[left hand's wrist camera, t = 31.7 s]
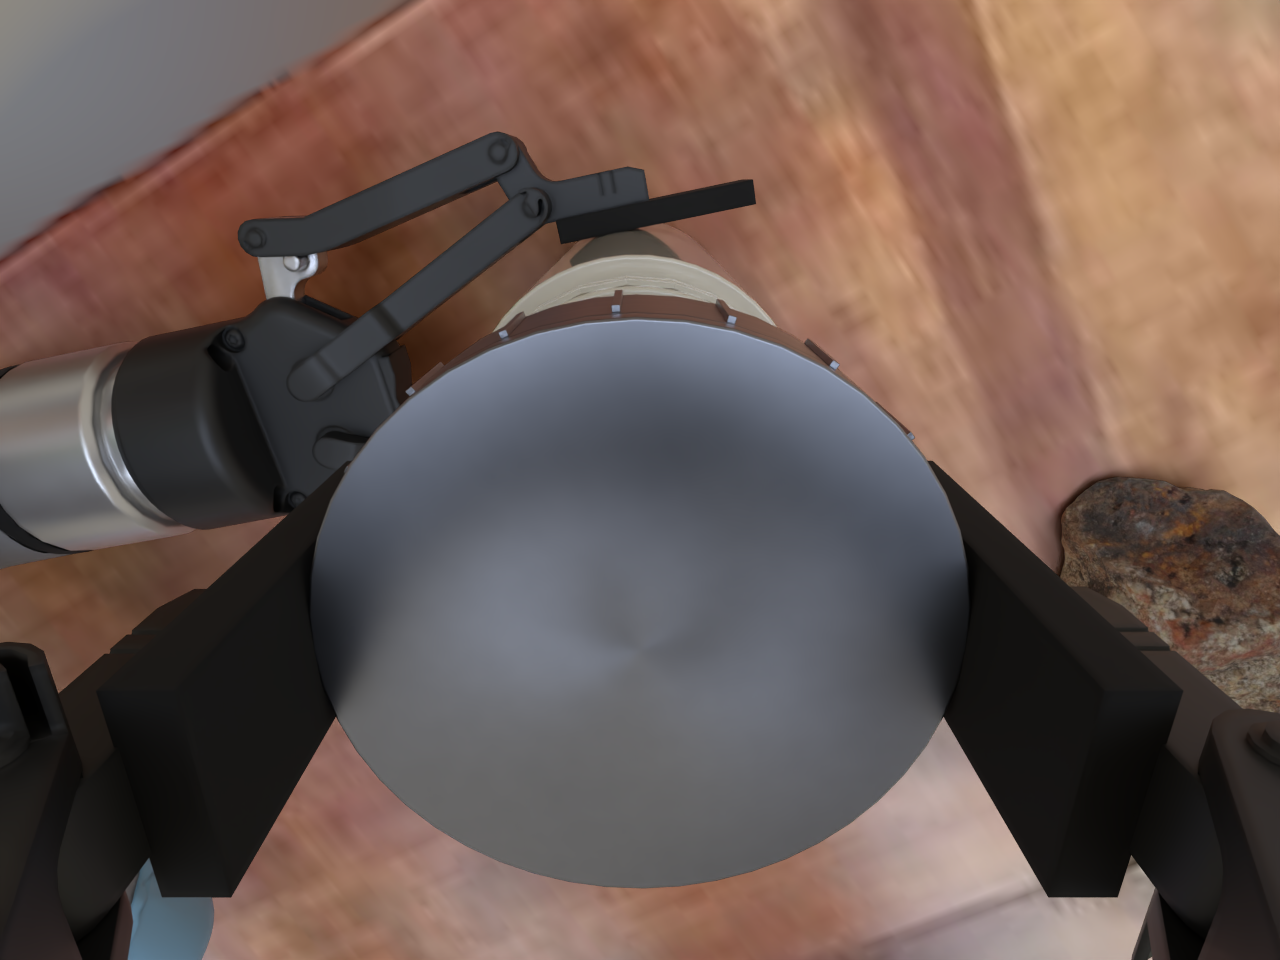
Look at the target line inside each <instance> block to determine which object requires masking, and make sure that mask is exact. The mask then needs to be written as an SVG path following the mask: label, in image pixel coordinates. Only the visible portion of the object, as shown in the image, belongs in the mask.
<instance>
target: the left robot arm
mask: <svg viewBox="0 0 1280 960" xmlns="http://www.w3.org/2000/svg"><path fill="white" fill-rule="evenodd" d="M351 462H352V461H346V462H345V463H344V464H343V465H342V466H341V467H340V468H339V469H338V470H336V471H335V472H334V473H333V474H332V475H331V476H330V477H329V478H328V479H327V480H326V481H324V482H323V483H322V484H321V485H320V486H319V487H318V488H317V489H316V490H315V491H314V492H312V493H311V494H310V495H309V496H308V497H307V498H306V499H305V500H304V501H303V502H301V503H300V504H299V505H298V506H297V507H296V508H295V509H294V510H293V511H292V512H291V513H289V514H288V515H287V516H286V517H285V518H284V519H283V520H282V521H281V522H280V523H279V524H277V525H276V526H275V527H274V528H273V529H272V530H271V531H270V532H269V533H268V534H267V535H265V536H264V537H263V538H262V539H261V540H260V541H259V542H258V543H257V544H256V545H255V546H253V547H252V548H251V549H250V550H249V551H248V552H247V553H246V554H245V555H244V556H242V557H241V558H240V559H239V560H238V561H237V562H236V563H235V564H234V565H233V566H232V567H230V568H229V569H228V570H227V571H226V572H225V573H224V574H223V575H222V576H221V577H220V578H218V579H217V580H216V581H215V582H214V583H213V584H212V585H211V586H210V587H209V588H208V589H194V590H192V591H190V592H188V593H186V594H184V595H182V596H180V597H178V598H176V599H174V600H172V601H171V602H169V603H167V604H165V605H163V606H161V607H159V608H157V609H156V610H155V611H154V612H153V613H152V614H150V615H149V616H148V617H147V618H146V619H145V620H143V621H142V622H141V623H140V624H139V625H138V626H137V627H135V628H134V629H133V630H132V635H126V636H125V637H124V638H123V639H121V640H120V641H119V642H118V643H117V644H116V645H114V646H113V647H112V648H111V649H110V650H111V651H110V654H104V655H103V656H102V657H101V658H99V659H98V660H97V661H96V662H95V663H94V664H92V665H91V666H90V667H89V668H88V669H87V670H85V671H84V672H83V673H82V674H81V675H80V676H78V677H77V678H76V679H75V680H74V681H73V682H72V683H70V684H69V685H68V686H67V687H66V688H65V689H63V690H62V691H61V692H60V693H59V694H58V692H57V689H56V686H55V683H54V680H53V677H52V674H51V671H50V668H49V665H48V662H47V659H46V657H45V654H44V651H43V650H41V649H39V648H37V647H36V646H34V645H32V644H28V643H15V642H4V643H0V960H128V954H129V948H130V941H131V934H132V928H133V916H132V910H131V905H130V902H129V899H128V896H127V893H126V888H127V887H128V886H129V884H130V883H131V882H132V880H133V879H134V878H135V876H136V875H137V873H138V872H139V871H140V869H141V868H142V867H143V865H144V864H145V863H146V861H147V860H148V859H150V862H151V865H152V868H153V871H154V874H155V878H156V881H157V884H158V887H159V890H160V893H161V896H162V897H232V895H233V893H234V891H235V890H236V888H237V886H238V885H239V883H240V881H241V879H242V878H243V876H244V874H245V872H246V871H247V869H248V867H249V866H250V864H251V862H252V860H253V859H254V857H255V855H256V853H257V852H258V850H259V848H260V847H261V845H262V843H263V841H264V840H265V838H266V836H267V835H268V833H269V831H270V829H271V828H272V826H273V824H274V822H275V821H276V819H277V817H278V816H279V814H280V812H281V810H282V809H283V807H284V805H285V803H286V802H287V800H288V798H289V797H290V795H291V793H292V791H293V790H294V788H295V786H296V785H297V783H298V781H299V779H300V778H301V776H302V774H303V772H304V771H305V769H306V767H307V766H308V764H309V762H310V760H311V759H312V757H313V755H314V753H315V752H316V750H317V748H318V747H319V745H320V743H321V741H322V740H323V738H324V736H325V735H326V733H327V731H328V729H329V728H330V726H331V724H332V722H333V721H334V719H335V717H336V715H335V713H334V710H333V708H332V706H331V703H330V701H329V699H328V697H327V694H326V692H325V690H324V688H323V684H322V681H321V677H320V673H319V670H318V665H317V660H316V655H315V650H314V645H313V639H312V633H311V627H310V620H309V594H310V573H311V568H312V562H313V557H314V552H315V546H316V541H317V536H318V534H319V531H320V528H321V525H322V522H323V520H324V517H325V514H326V511H327V508H328V506H329V503H330V500H331V498H332V496H333V494H334V492H335V491H336V489H337V487H338V485H339V483H340V481H341V479H342V478H343V476H344V474H345V473H344V470H345V469H346V467H347V466H348V465H349V464H350V463H351ZM928 463H929V465H930V467H931V468H932V470H933V472H934V473H935V475H936V477H937V479H938V480H939V482H940V484H941V486H942V487H943V489H944V491H945V492H946V495H947V497H948V500H949V503H950V505H951V508H952V510H953V513H954V516H955V518H956V521H957V523H958V526H959V528H960V531H961V536H962V541H963V545H964V550H965V555H966V559H967V564H968V568H969V585H970V602H971V611H970V621H969V630H968V636H967V642H966V647H965V652H964V657H963V662H962V667H961V672H960V676H959V680H958V683H957V685H956V688H955V690H954V693H953V695H952V697H951V700H950V702H949V705H948V707H947V710H946V712H945V715H944V718H945V720H946V722H947V723H948V725H949V727H950V728H951V730H952V732H953V734H954V735H955V737H956V739H957V741H958V742H959V744H960V746H961V747H962V749H963V751H964V753H965V754H966V756H967V758H968V759H969V761H970V763H971V765H972V766H973V768H974V770H975V772H976V773H977V775H978V777H979V778H980V780H981V782H982V784H983V785H984V787H985V789H986V791H987V792H988V794H989V796H990V797H991V799H992V801H993V803H994V804H995V806H996V808H997V809H998V811H999V813H1000V815H1001V816H1002V818H1003V820H1004V822H1005V823H1006V825H1007V827H1008V828H1009V830H1010V832H1011V834H1012V835H1013V837H1014V839H1015V841H1016V842H1017V844H1018V846H1019V847H1020V849H1021V851H1022V853H1023V854H1024V856H1025V858H1026V860H1027V861H1028V863H1029V865H1030V866H1031V868H1032V870H1033V872H1034V873H1035V875H1036V877H1037V878H1038V880H1039V882H1040V884H1041V885H1042V887H1043V889H1044V891H1045V892H1046V894H1047V896H1048V897H1118V894H1119V891H1120V888H1121V885H1122V882H1123V879H1124V876H1125V873H1126V869H1127V866H1128V863H1129V860H1130V857H1131V855H1132V857H1133V858H1134V859H1135V861H1136V862H1137V863H1138V865H1139V866H1140V867H1141V869H1142V870H1143V871H1144V873H1145V874H1146V875H1147V877H1148V878H1149V879H1150V881H1151V882H1152V883H1153V885H1154V886H1155V890H1154V893H1153V896H1152V899H1151V902H1150V905H1149V908H1148V911H1147V913H1146V916H1145V919H1144V922H1143V925H1142V928H1141V931H1140V934H1139V937H1138V940H1137V943H1136V946H1135V948H1134V951H1133V954H1132V959H1131V960H1148V959H1149V958H1151V957H1152V958H1153V960H1280V713H1276V712H1269V711H1262V710H1255V709H1249V708H1247V709H1243V708H1242V707H1241V706H1239V705H1238V704H1237V703H1236V702H1235V701H1234V700H1232V699H1231V698H1230V697H1229V696H1228V695H1226V694H1225V693H1224V692H1223V691H1222V690H1221V689H1219V688H1218V687H1217V686H1216V685H1215V684H1214V683H1212V682H1211V681H1210V680H1209V679H1208V678H1207V677H1205V676H1204V675H1203V674H1202V673H1201V672H1200V671H1198V670H1197V669H1196V668H1195V667H1194V666H1193V665H1191V664H1190V663H1189V662H1188V661H1187V660H1186V659H1184V658H1183V657H1182V656H1181V655H1180V654H1179V653H1177V652H1176V651H1170V646H1169V645H1168V644H1167V643H1166V642H1164V641H1163V640H1162V639H1161V638H1160V637H1159V636H1157V635H1156V634H1155V633H1154V632H1149V631H1148V627H1147V626H1146V625H1145V624H1143V623H1142V622H1141V621H1140V620H1139V619H1138V618H1136V617H1135V616H1134V615H1133V614H1132V613H1131V612H1129V611H1128V610H1127V609H1126V608H1125V607H1124V606H1122V605H1121V604H1119V603H1117V602H1115V601H1113V600H1111V599H1109V598H1107V597H1105V596H1103V595H1101V594H1099V593H1097V592H1095V591H1093V590H1091V589H1090V588H1088V587H1086V586H1069V585H1068V584H1066V583H1065V582H1064V581H1063V580H1062V579H1061V578H1060V577H1059V576H1058V575H1057V574H1056V573H1054V572H1053V571H1052V570H1051V569H1050V568H1049V567H1048V566H1047V565H1046V564H1045V563H1044V562H1042V561H1041V560H1040V559H1039V558H1038V557H1037V556H1036V555H1035V554H1034V553H1033V552H1032V551H1030V550H1029V549H1028V548H1027V547H1026V546H1025V545H1024V544H1023V543H1022V542H1021V541H1020V540H1018V539H1017V538H1016V537H1015V536H1014V535H1013V534H1012V533H1011V532H1010V531H1009V530H1007V529H1006V528H1005V527H1004V526H1003V525H1002V524H1001V523H1000V522H999V521H998V520H997V519H995V518H994V517H993V516H992V515H991V514H990V513H989V512H988V511H987V510H986V509H985V508H983V507H982V506H981V505H980V504H979V503H978V502H977V501H976V500H975V499H974V498H973V497H971V496H970V495H969V494H968V493H967V492H966V491H965V490H964V489H963V488H962V487H961V486H959V485H958V484H957V483H956V482H955V481H954V480H953V479H952V478H951V477H950V476H949V475H947V474H946V473H945V472H944V471H943V470H942V469H941V468H940V467H939V466H938V465H936V464H935V463H934V462H933V461H928Z"/></svg>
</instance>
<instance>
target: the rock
mask: <svg viewBox="0 0 1280 960" xmlns="http://www.w3.org/2000/svg"><path fill="white" fill-rule="evenodd" d="M1061 525H1062V540H1061V543H1062V545H1063V547H1064V550H1065V553H1064V554H1065V561H1064V565H1063V568H1062V572H1061V576H1060V578H1061V579H1062V580H1063V581H1064V582H1065V583H1066V584H1068V585H1069V586H1086V587H1088V588H1090V589H1091V590H1093V591H1095V592H1097V593H1099V594H1101V595H1103V596H1105V597H1107V598H1109V599H1111V600H1113V601H1115V602H1117V603H1119V604H1121V605H1122V606H1124V607H1125V608H1126V609H1127V610H1128V611H1129V612H1131V613H1132V614H1133V615H1134V616H1135V617H1136V618H1138V619H1139V620H1140V621H1141V622H1142V623H1143V624H1145V625H1146V626H1147V627H1148V631H1149V632H1154V633H1155V634H1156V635H1157V636H1159V637H1160V638H1161V639H1162V640H1163V641H1164V642H1166V643H1167V644H1168V645H1169V646H1170V651H1176V652H1177V653H1179V654H1180V655H1181V656H1182V657H1183V658H1184V659H1186V660H1187V661H1188V662H1189V663H1190V664H1191V665H1193V666H1194V667H1195V668H1196V669H1197V670H1198V671H1200V672H1201V673H1202V674H1203V675H1204V676H1205V677H1207V678H1208V679H1209V680H1210V681H1211V682H1212V683H1214V684H1215V685H1216V686H1217V687H1218V688H1219V689H1221V690H1222V691H1223V692H1224V693H1225V694H1226V695H1228V696H1229V697H1230V698H1231V699H1232V700H1234V701H1235V702H1236V703H1237V704H1238V705H1239V706H1241V707H1242V708H1243V709H1247V708H1249V709H1255V710H1262V711H1269V712H1276V713H1280V536H1279V535H1278V534H1277V533H1276V532H1275V531H1274V530H1273V528H1272V527H1271V526H1270V524H1269V523H1268V522H1267V521H1266V519H1265V518H1264V517H1263V516H1262V515H1261V514H1260V513H1259V512H1258V511H1257V510H1255V509H1254V508H1253V507H1252V506H1250V505H1249V504H1247V503H1246V502H1244V501H1243V500H1241V499H1239V498H1237V497H1235V496H1233V495H1231V494H1229V493H1228V492H1226V491H1224V490H1213V489H1210V490H1203V489H1197V488H1190V487H1184V488H1178V487H1176V486H1174V485H1172V484H1170V483H1167V482H1165V481H1160V480H1152V479H1141V478H1126V477H1114V478H1110V479H1105V480H1101V481H1098V482H1096V483H1095V484H1093V485H1092V486H1091V487H1089V488H1088V489H1086V490H1085V491H1084V492H1083V493H1082V494H1080V495H1079V496H1078V497H1077V498H1076V500H1075V501H1074V502H1073V503H1072V504H1070V505H1069V506H1068V507H1067V508H1066V509H1065V511H1064V513H1063V514H1062V518H1061Z"/></svg>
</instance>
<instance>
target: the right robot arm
mask: <svg viewBox="0 0 1280 960" xmlns="http://www.w3.org/2000/svg"><path fill="white" fill-rule="evenodd" d="M497 181H498V183H499V184H500V186H501V188H502V189H503V191H504V192H505V194H506V196H507V197H508V199H509V201H507V202H506V203H505V204H504V205H502V206H501V207H500V208H499V209H497V210H496V211H495V212H494V213H492V214H491V215H490V216H489V217H487V218H486V219H485V220H484V221H482V222H481V223H480V224H479V225H477V226H476V227H475V228H474V229H472V230H471V231H470V232H468V233H467V234H466V235H465V236H463V237H462V238H461V239H460V240H458V241H457V242H456V243H455V244H453V245H452V246H451V247H450V248H448V249H447V250H446V251H445V252H443V253H442V254H441V255H440V256H438V257H437V258H436V259H435V260H433V261H432V262H431V263H430V264H428V265H427V266H426V267H425V268H423V269H422V270H421V271H420V272H418V273H417V274H416V275H415V276H413V277H412V278H411V279H410V280H408V281H407V282H406V283H405V284H403V285H402V286H401V287H400V288H398V289H397V290H396V291H394V292H393V293H392V294H391V295H389V296H388V297H387V298H386V299H384V300H383V301H382V302H381V303H379V304H378V305H376V306H375V307H373V308H372V309H370V310H369V311H368V312H366V313H365V314H364V315H362V316H361V317H360V318H357V317H355V316H353V315H350V314H348V313H346V312H343V311H341V310H339V309H337V308H334V307H332V306H330V305H327V304H325V303H323V302H321V301H318V300H316V299H314V298H311V297H309V296H307V295H305V291H304V288H305V284H306V282H307V281H308V279H310V278H311V277H312V276H315V275H318V274H321V273H322V272H324V271H325V269H326V268H327V265H328V256H327V251H330V250H334V249H339V248H343V247H347V246H350V245H353V244H356V243H358V242H361V241H363V240H365V239H368V238H370V237H372V236H374V235H377V234H379V233H381V232H384V231H386V230H388V229H390V228H393V227H395V226H397V225H399V224H402V223H404V222H406V221H408V220H411V219H413V218H415V217H418V216H420V215H422V214H424V213H427V212H429V211H431V210H433V209H436V208H438V207H440V206H442V205H445V204H447V203H449V202H452V201H454V200H456V199H458V198H461V197H463V196H465V195H467V194H470V193H472V192H474V191H477V190H479V189H481V188H483V187H486V186H488V185H490V184H492V183H495V182H497ZM754 204H756V200H755V192H754V185H753V180H738V181H733V182H729V183H724V184H719V185H714V186H709V187H705V188H700V189H695V190H690V191H686V192H681V193H676V194H671V195H666V196H662V197H657V198H652V199H649V196H648V190H647V185H646V179H645V173H644V170H642V169H637V168H632V167H624V168H619V169H614V170H610V171H605V172H600V173H595V174H591V175H586V176H581V177H577V178H572V179H567V180H563V181H551V180H549V179H547V178H545V177H544V176H543V175H542V174H541V173H540V172H539V170H538V169H537V167H536V165H535V164H534V162H533V160H532V159H531V157H530V155H529V154H528V152H527V149H526V147H525V145H524V143H523V142H522V141H521V140H519V139H518V138H517V137H514V136H511V135H508V134H505V133H501V132H493V133H490V134H487V135H485V136H483V137H481V138H479V139H476V140H474V141H472V142H470V143H467V144H465V145H463V146H461V147H459V148H456V149H454V150H452V151H450V152H448V153H445V154H443V155H441V156H439V157H436V158H434V159H432V160H430V161H428V162H425V163H423V164H421V165H419V166H416V167H414V168H412V169H410V170H408V171H405V172H403V173H401V174H399V175H397V176H394V177H392V178H390V179H388V180H385V181H383V182H381V183H379V184H377V185H374V186H372V187H370V188H368V189H366V190H363V191H361V192H359V193H357V194H354V195H352V196H350V197H348V198H346V199H343V200H341V201H339V202H337V203H335V204H332V205H330V206H328V207H326V208H323V209H321V210H319V211H317V212H315V213H312V214H310V215H308V216H283V217H273V218H263V219H252V220H248V221H245V222H244V223H243V224H242V225H240V228H239V230H238V240H239V243H240V245H241V247H242V248H243V249H244V250H245V252H246V253H248V254H250V255H252V256H254V257H258V261H259V266H260V271H261V275H262V280H263V285H264V289H265V294H266V299H267V300H265V301H263V302H262V303H260V304H259V305H258V306H257V307H256V309H255V310H254V311H253V312H252V313H250V314H249V315H248V316H246V317H242V318H238V319H233V320H228V321H223V322H218V323H214V324H209V325H204V326H199V327H194V328H189V329H185V330H180V331H175V332H170V333H165V334H160V335H156V336H151V337H148V338H145V339H143V340H141V341H140V342H131V341H126V342H121V343H117V344H112V345H107V346H102V347H97V348H92V349H87V350H82V351H78V352H73V353H68V354H63V355H58V356H53V357H48V358H43V359H38V360H34V361H29V362H25V363H23V364H20V365H15V366H11V367H7V368H4V369H1V370H0V569H3V568H6V567H10V566H14V565H19V564H24V563H29V562H35V561H40V560H45V559H50V558H55V557H60V556H65V555H70V554H75V553H82V552H88V551H92V550H97V549H103V548H108V547H114V546H120V545H126V544H131V543H137V542H143V541H149V540H155V539H160V538H166V537H172V536H177V535H182V534H187V533H190V532H192V531H194V530H196V529H202V530H204V529H214V528H219V527H225V526H230V525H236V524H241V523H247V522H252V521H257V520H263V519H268V518H274V517H279V516H285V515H288V514H289V513H291V512H292V511H293V510H294V509H295V508H296V507H297V506H298V505H299V504H300V503H301V502H303V501H304V500H305V499H306V498H307V497H308V496H309V495H310V494H311V493H312V492H314V491H315V490H316V489H317V488H318V487H319V486H320V485H321V484H322V483H323V482H324V481H326V480H327V479H328V478H329V477H330V476H331V475H332V474H333V473H334V472H335V471H336V470H338V469H339V468H340V467H341V466H342V465H343V464H344V463H345V462H346V461H352V460H353V459H354V458H355V456H356V455H357V454H358V452H359V451H360V450H361V448H362V447H363V446H364V444H365V443H366V442H367V441H368V439H369V438H370V437H371V435H372V434H373V433H374V431H375V430H376V429H377V428H378V427H379V426H380V425H381V424H382V423H383V422H384V421H385V420H386V419H387V418H388V417H389V416H390V415H391V414H392V413H393V412H394V411H395V410H396V409H397V408H398V407H399V406H400V405H401V404H402V403H403V402H404V401H405V400H407V399H408V398H409V397H410V396H409V395H408V394H407V393H406V392H405V391H406V390H407V389H409V388H410V387H411V386H412V376H411V363H410V360H409V356H408V353H407V350H406V347H405V345H401V346H400V345H399V344H398V342H397V341H396V340H398V339H399V338H400V337H401V336H403V335H404V334H405V333H407V332H408V331H409V330H410V329H412V328H413V327H414V326H416V325H417V324H418V323H419V322H421V321H422V320H423V319H424V318H425V317H426V316H428V315H429V314H430V313H432V312H433V311H434V310H435V309H437V308H438V307H439V306H441V305H442V304H443V303H444V302H446V301H447V300H448V299H450V298H451V297H452V296H453V295H455V294H456V293H457V292H459V291H460V290H461V289H462V288H464V287H465V286H466V285H468V284H469V283H470V282H471V281H473V280H474V279H475V278H477V277H478V276H479V275H480V274H482V273H483V272H484V271H486V270H487V269H488V268H489V267H491V266H492V265H493V264H495V263H496V262H497V261H498V260H500V259H501V258H502V257H504V256H505V255H506V254H507V253H509V252H510V251H511V250H513V249H514V248H515V247H516V246H518V245H519V244H520V243H522V242H523V241H524V240H525V239H527V238H528V237H529V236H531V235H532V234H533V233H535V232H536V231H537V230H538V229H540V228H541V227H542V226H543V225H545V224H546V223H551V222H556V224H557V228H558V233H559V237H560V242H561V244H564V243H569V242H574V241H579V240H584V239H589V238H594V237H598V236H603V235H608V234H612V233H618V232H623V231H627V230H632V229H637V228H642V227H647V226H652V225H657V224H661V223H666V222H671V221H676V220H681V219H686V218H691V217H695V216H700V215H705V214H710V213H715V212H720V211H724V210H729V209H734V208H739V207H744V206H749V205H754ZM126 893H127V896H128V899H129V902H130V905H131V910H132V916H133V928H132V934H131V941H130V948H129V954H128V960H202V958H203V955H204V953H205V951H206V948H207V945H208V943H209V940H210V937H211V933H212V929H213V922H214V906H213V901H212V897H162V896H161V893H160V890H159V887H158V884H157V881H156V878H155V874H154V871H153V868H152V865H151V862H150V859H148V860H147V861H146V863H145V864H144V865H143V867H142V868H141V869H140V871H139V872H138V873H137V875H136V876H135V878H134V879H133V880H132V882H131V883H130V884H129V886H128V887H127V888H126Z"/></svg>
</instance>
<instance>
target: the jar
mask: <svg viewBox="0 0 1280 960" xmlns="http://www.w3.org/2000/svg"><path fill="white" fill-rule="evenodd" d="M615 290H623V295H633V294H640V295H658V296H676V297H683V298H688V299H693V300H698V301H703V302H709V303H714V304H716V300H717V299H720V300H724V301H725V303H726V304H727V305H728V306H729V308H731V309H734V310H737V311H740V312H742V313H745V314H748V315H751V316H754V317H757V318H759V319H761V320H763V321H765V322H767V323H769V324H771V325H773V326H775V327H777V326H776V325H775V323H774V322H773V320H772V319H771V318H770V317H769V315H768V314H767V313H766V312H765V311H764V310H763V309H762V308H761V307H760V306H759V305H758V303H757V302H756V301H755V300H754V299H753V298H752V297H751V296H750V295H749V294H748V293H747V292H746V291H745V290H744V289H743V288H742V287H741V286H740V285H739V284H738V283H737V282H736V281H735V280H734V279H733V278H732V277H731V276H730V275H729V274H728V273H727V272H726V271H725V270H724V269H723V268H722V266H721V265H720V264H719V263H718V262H717V261H716V260H715V259H714V258H713V257H712V256H711V255H710V254H709V253H708V252H707V251H706V250H705V249H704V248H703V247H702V246H701V245H700V244H699V243H698V242H696V241H695V240H694V239H693V238H691V237H690V236H689V235H687V234H685V233H684V232H682V231H681V230H678V229H676V228H674V227H672V226H670V225H667V224H663V223H661V224H657V225H652V226H647V227H642V228H637V229H632V230H627V231H623V232H618V233H612V234H608V235H603V236H598V237H594V238H589V239H584V240H579V241H578V242H577V243H576V244H575V245H574V246H573V247H572V248H571V249H570V250H569V251H568V252H567V253H566V254H565V255H564V256H563V257H562V258H561V259H560V260H559V261H558V262H557V263H556V264H555V265H554V266H553V267H552V268H551V269H550V270H548V271H547V272H546V273H545V274H544V275H543V276H542V277H541V278H540V279H539V280H538V281H537V282H536V283H535V284H534V285H533V286H532V287H531V288H530V289H529V290H528V291H527V292H526V293H525V294H524V295H523V296H522V297H521V298H520V299H519V300H518V301H517V302H516V304H515V305H514V306H513V307H512V308H511V309H510V310H509V311H508V312H507V313H506V314H505V315H504V316H503V318H502V319H501V321H500V322H499V323H498V325H497V326H496V328H495V329H494V331H493V332H495V331H496V330H498V329H500V328H502V327H504V326H505V325H506V324H507V323H508V322H509V321H510V320H511V319H512V318H513V317H514V316H515V315H517V314H518V313H520V312H524V313H525V316H529V315H532V314H534V313H537V312H540V311H543V310H545V309H548V308H551V307H554V306H558V305H562V304H567V303H572V302H576V301H581V300H586V299H590V298H595V297H608V296H614V293H615ZM493 332H492V333H493Z"/></svg>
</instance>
